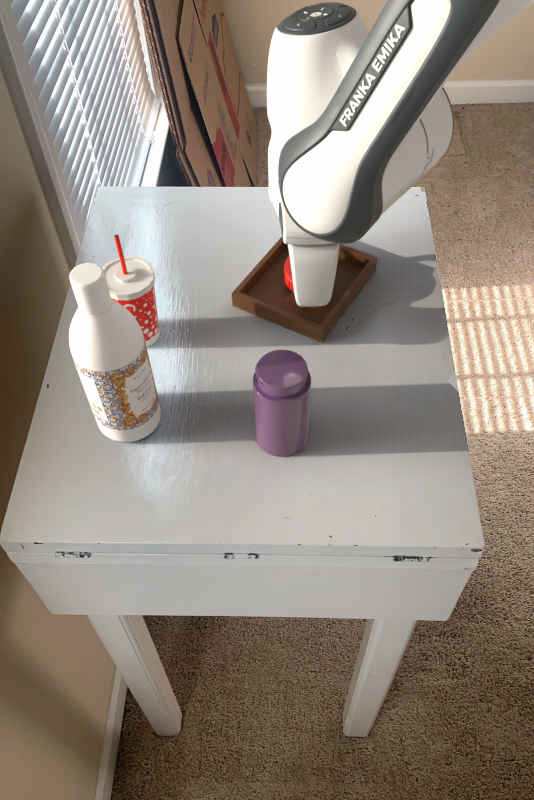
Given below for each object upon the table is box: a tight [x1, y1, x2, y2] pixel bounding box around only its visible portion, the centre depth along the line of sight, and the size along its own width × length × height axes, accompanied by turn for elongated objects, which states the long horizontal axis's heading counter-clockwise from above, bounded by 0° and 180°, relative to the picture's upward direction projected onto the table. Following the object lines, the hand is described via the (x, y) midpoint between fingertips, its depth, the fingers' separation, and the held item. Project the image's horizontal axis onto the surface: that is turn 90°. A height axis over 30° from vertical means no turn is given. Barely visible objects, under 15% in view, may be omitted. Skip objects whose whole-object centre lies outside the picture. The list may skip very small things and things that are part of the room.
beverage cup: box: [101, 234, 161, 348], centre depth 75 cm, size 6×6×14 cm
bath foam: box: [68, 262, 162, 443], centre depth 66 cm, size 7×7×20 cm
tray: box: [231, 235, 378, 344], centre depth 84 cm, size 14×12×2 cm
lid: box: [284, 256, 294, 292], centre depth 83 cm, size 6×6×2 cm
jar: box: [252, 349, 312, 458], centre depth 68 cm, size 6×6×11 cm
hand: (306, 281), depth 84 cm, fingers closed on lid, 6 cm apart
